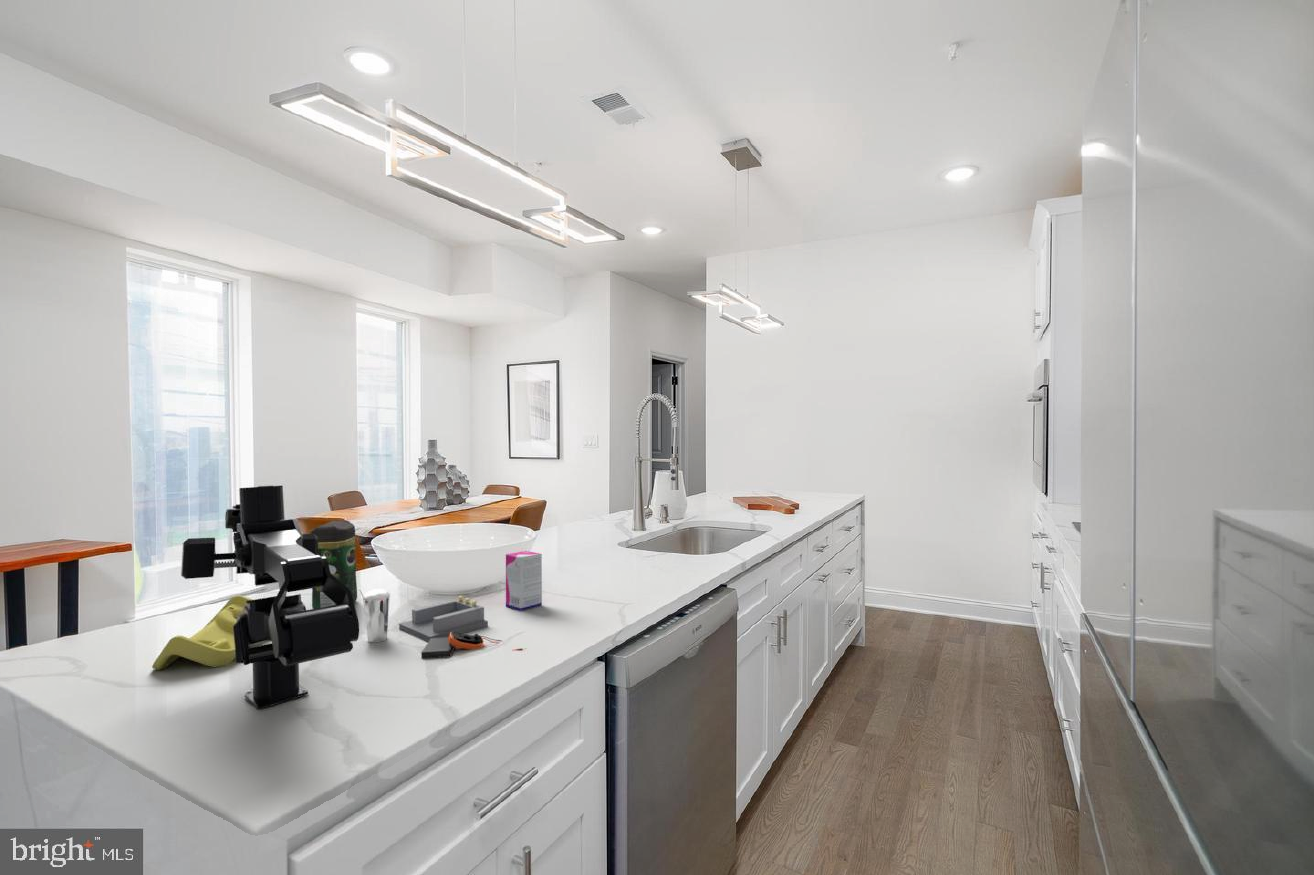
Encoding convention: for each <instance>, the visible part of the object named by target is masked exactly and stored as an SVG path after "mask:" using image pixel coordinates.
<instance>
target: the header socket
mask: <svg viewBox="0 0 1314 875" xmlns="http://www.w3.org/2000/svg"><path fill="white" fill-rule="evenodd" d="M470 601H471V600H470V598H469V597H467V598H465V600H464V596H463V595H459V596H458V598H455V599H451V600H448V601H447V600H446V601H443V602H438V603H435V604H434V603H433V604H430V605H426V606H425V605H424V606H421V607H415V608H413V609H411V620H408V621H402V622H399V624H398V625H399V627H398V629H399V630H402V631H404V632H406V633H409V634H410V635H413V636H415V637H417V638H420V639H422V640H424V641H426V642H427V643H428V642H429V640H430V639H431V638H439V637H449V635H450V633H451V632H456V633H460V634H466V633H469V632H472V631H476V630H479V629H484V628H485V627H488V626H489V621H488V620H486V619H485V606H482V605H480V604H477V600H472V602H470Z"/></svg>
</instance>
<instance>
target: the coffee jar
mask: <svg viewBox="0 0 1314 875" xmlns="http://www.w3.org/2000/svg"><path fill="white" fill-rule="evenodd" d="M355 528H356V526H355V524H354V523H352V522H350V521H349V520H332V521H330V522H327V523H325V524H324V523H323V524H322V525H319V526H316V527H315V528H313V529H311V530H310V534H315V535H316V536H317V537H318V555H319V556H321V557H323V556H325V557H326V558H327V561H328V565H329V569H330V573H331V574H332V575H333V576H334V577H335V578H336V579H338V580H339V581H340V582H341V583H342V584H343V585H344V586H346V587H347V588H348V589H349V590H350V591H351V594H352V598H353V601H354V603H355V602H356V601H357V599H358V586H357V568H356V567H357V566H356V529H355ZM333 605H337V604H335V603H334V602H333V601H332V600H331V599H330V598H329V597H327V596H326V595H325V594H324V593H323V592H322V590H321V587H318V588H312V589H311V608H312V609H316V608H322V607H327V606H333Z"/></svg>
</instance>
